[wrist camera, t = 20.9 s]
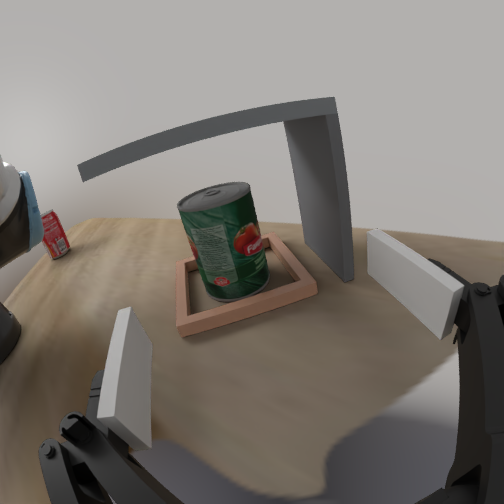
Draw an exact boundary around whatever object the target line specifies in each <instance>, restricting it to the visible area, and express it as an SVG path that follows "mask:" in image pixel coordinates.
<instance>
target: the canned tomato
mask: <svg viewBox="0 0 504 504" xmlns="http://www.w3.org/2000/svg"><path fill="white" fill-rule="evenodd" d="M177 208H178V210H179V213H180V216H181V219H182V223H183V225H184V229H185V231H186V234H187V237H188V240H189V243H190V246H191V249H192V252H193V255H194V257H195V261H196V263H197V266H198V269H199V272H200V275H201V277H202V280H203V283H204V285H205V288H206V292H207V294H208V295H209V296H210V297H211V298H212V299H214V300H217V301H221V302H235V301H238V300H242V299H245V298H248V297H251V296H254V295H255V294H257V293H259V292H260V291H261V290H263V289H264V288H265V286H266V285H267V284H268V282H269V280H270V272H269V270H268V265H267V260H266V256H265V252H264V247H263V241H262V238H261V234H260V228H259V225H258V220H257V215H256V212H255V207H254V202H253V198H252V195H251V191H250V185H249V184H248V183H245V182H230V183H224V184H219V185H215V186H211V187H207V188H204V189H201V190H199V191H196V192H194V193H192V194H190V195H188V196H186V197H184V198H183V199H181V200H180V201H179V202H178V204H177Z"/></svg>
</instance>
